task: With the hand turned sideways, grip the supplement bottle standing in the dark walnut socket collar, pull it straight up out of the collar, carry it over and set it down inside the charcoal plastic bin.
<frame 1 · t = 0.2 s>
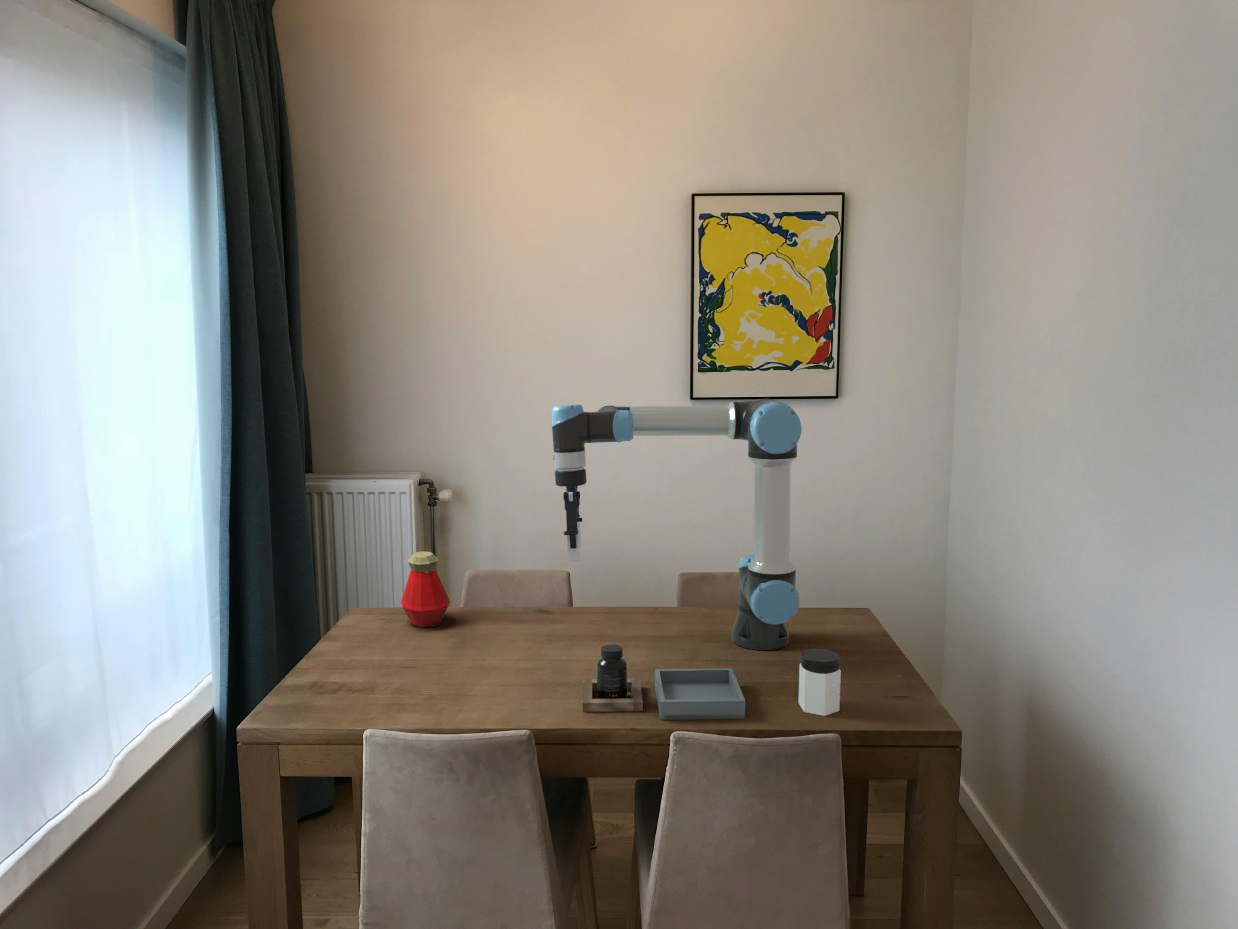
hand: (575, 554, 211), 28 cm above the table, tool pointing down, fingers open, 13 cm apart
bin: (697, 701, 192), on the table
supplement bottle: (612, 699, 193), resting in socket collar
bottle: (426, 623, 246), on the table
socket collar: (612, 698, 193), on the table
jar: (818, 708, 189), on the table
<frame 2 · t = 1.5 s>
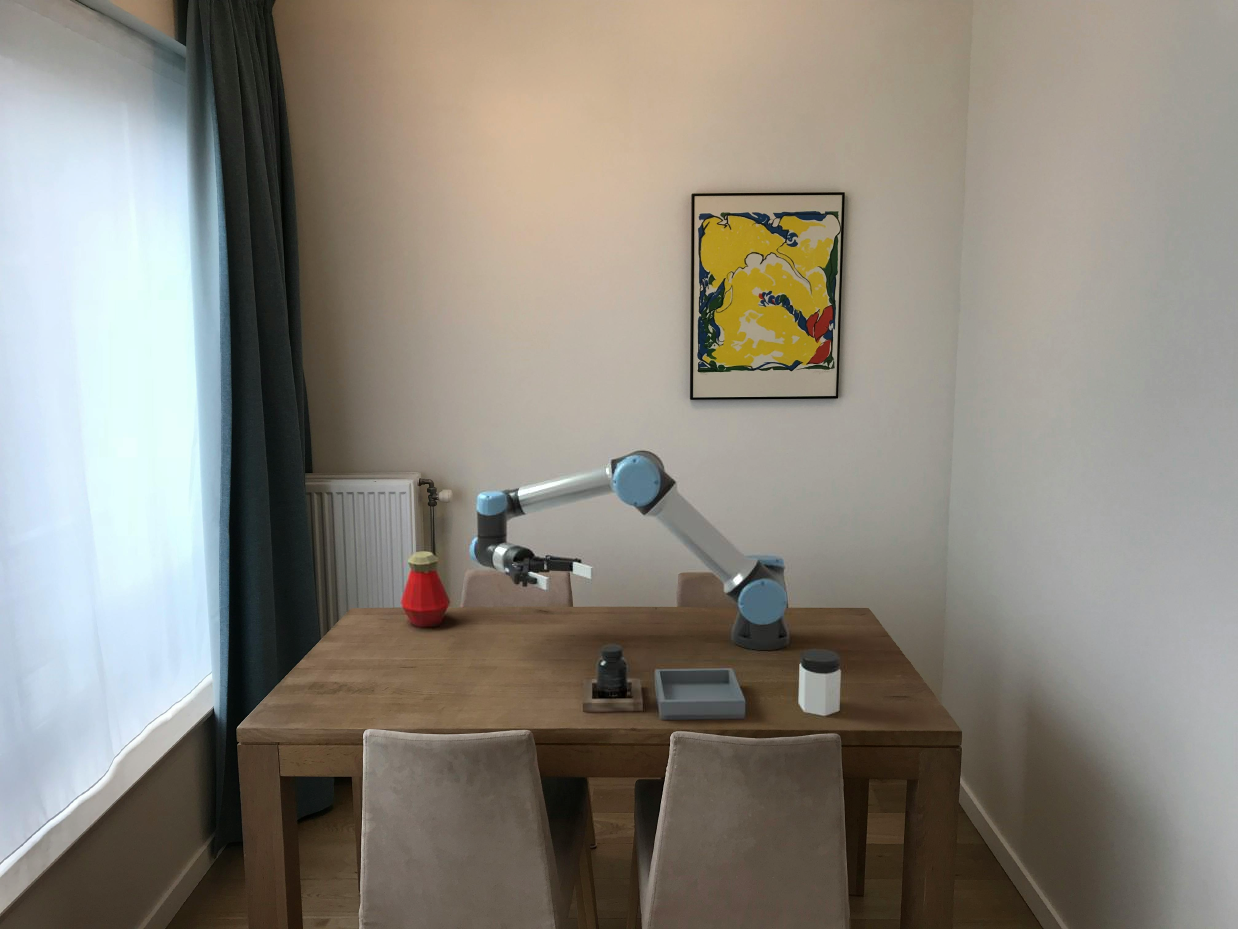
hand: (570, 578, 201), 25 cm above the table, tool horizontal, fingers open, 13 cm apart
nothing on the table moved.
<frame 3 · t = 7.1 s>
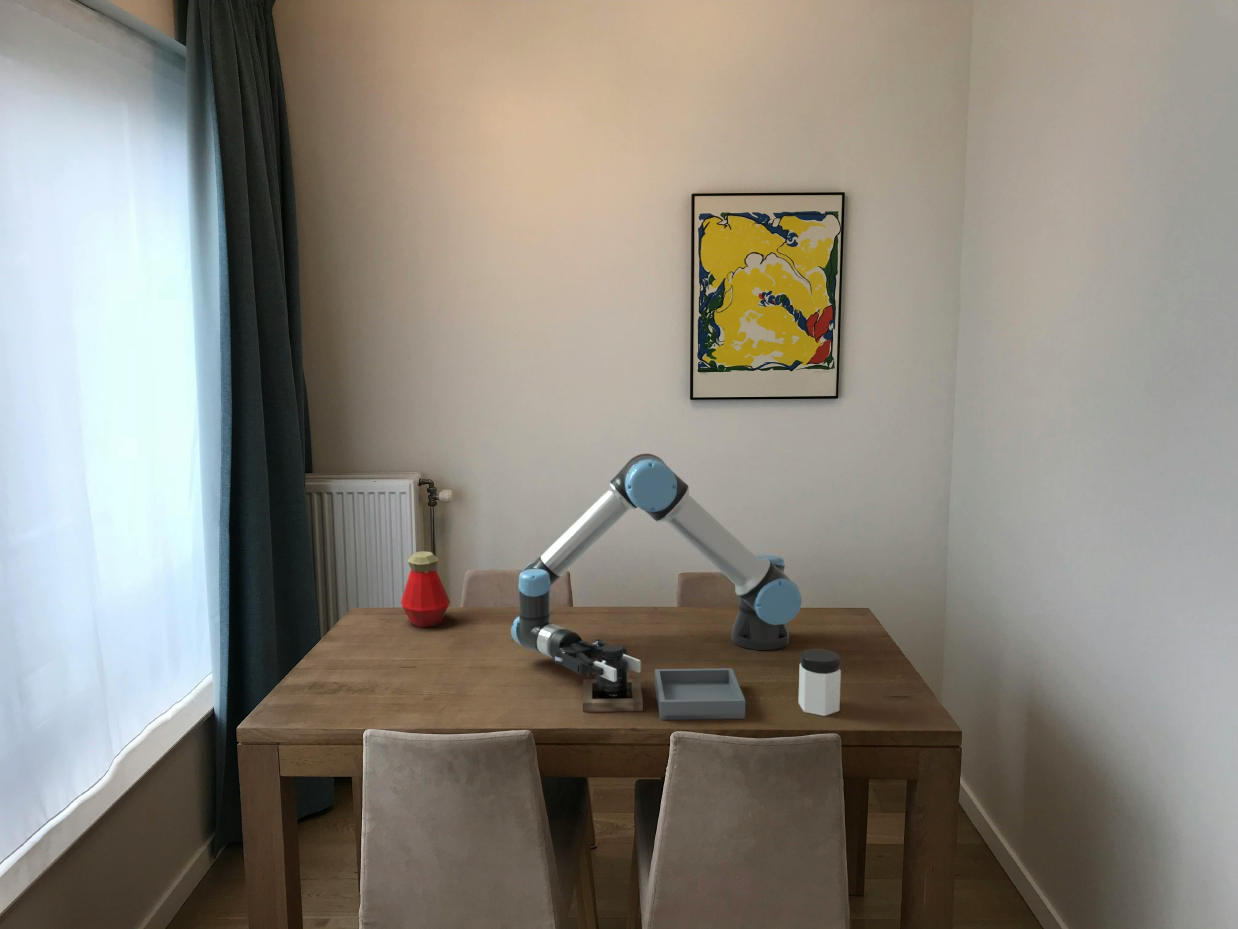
hand: (627, 671, 189), 8 cm above the table, tool horizontal, fingers closed on supplement bottle, 7 cm apart
supplement bottle: (612, 699, 193), resting in socket collar, touching gripper
everything else where it was.
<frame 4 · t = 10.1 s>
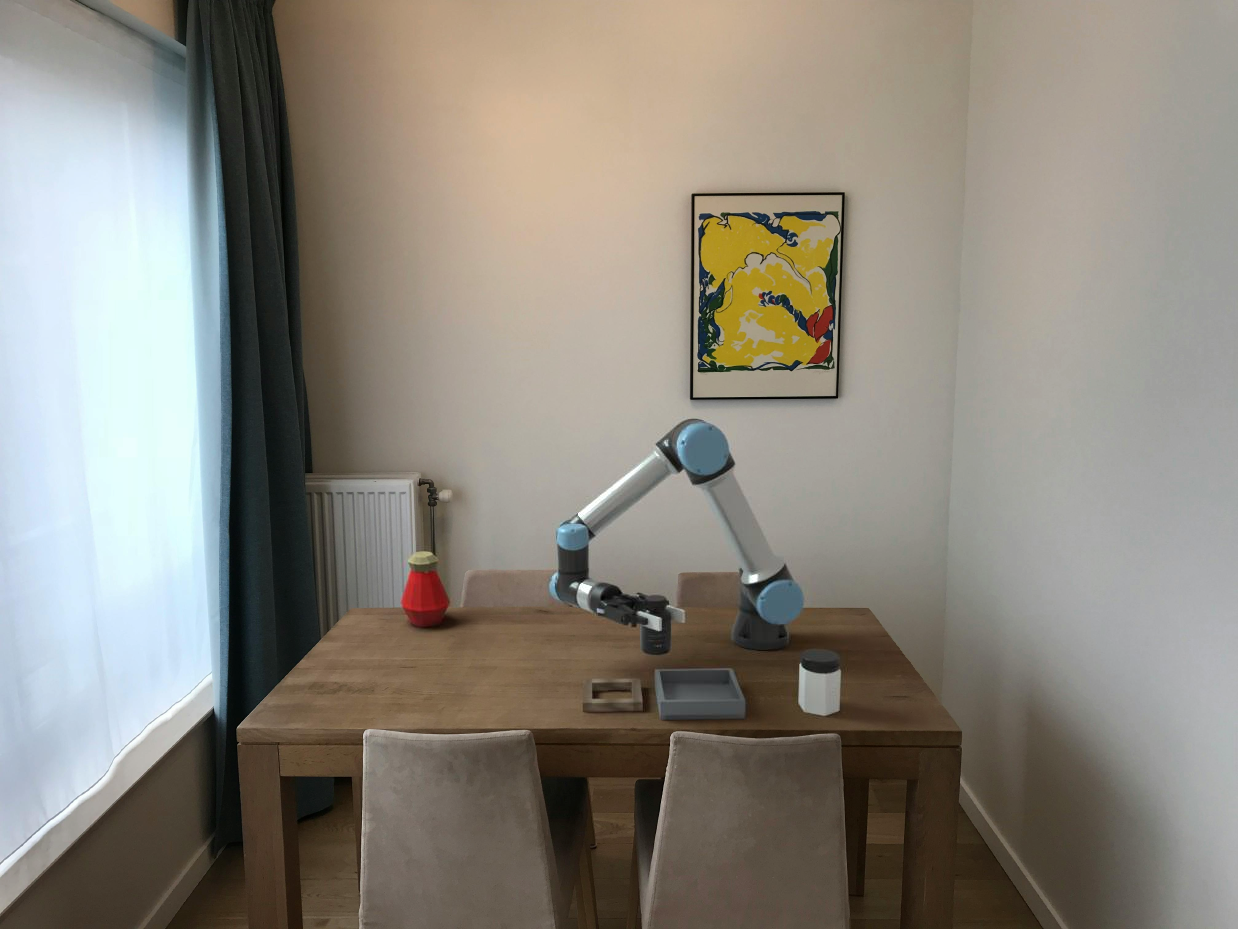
hand: (672, 620, 186), 20 cm above the table, tool horizontal, fingers closed on supplement bottle, 7 cm apart
supplement bottle: (655, 651, 191), point 12 cm above the table, touching gripper
everything else where it was.
when the fingers open (10 cm above the table, at t = 13.2 s): supplement bottle drops 1 cm, resting on bin.
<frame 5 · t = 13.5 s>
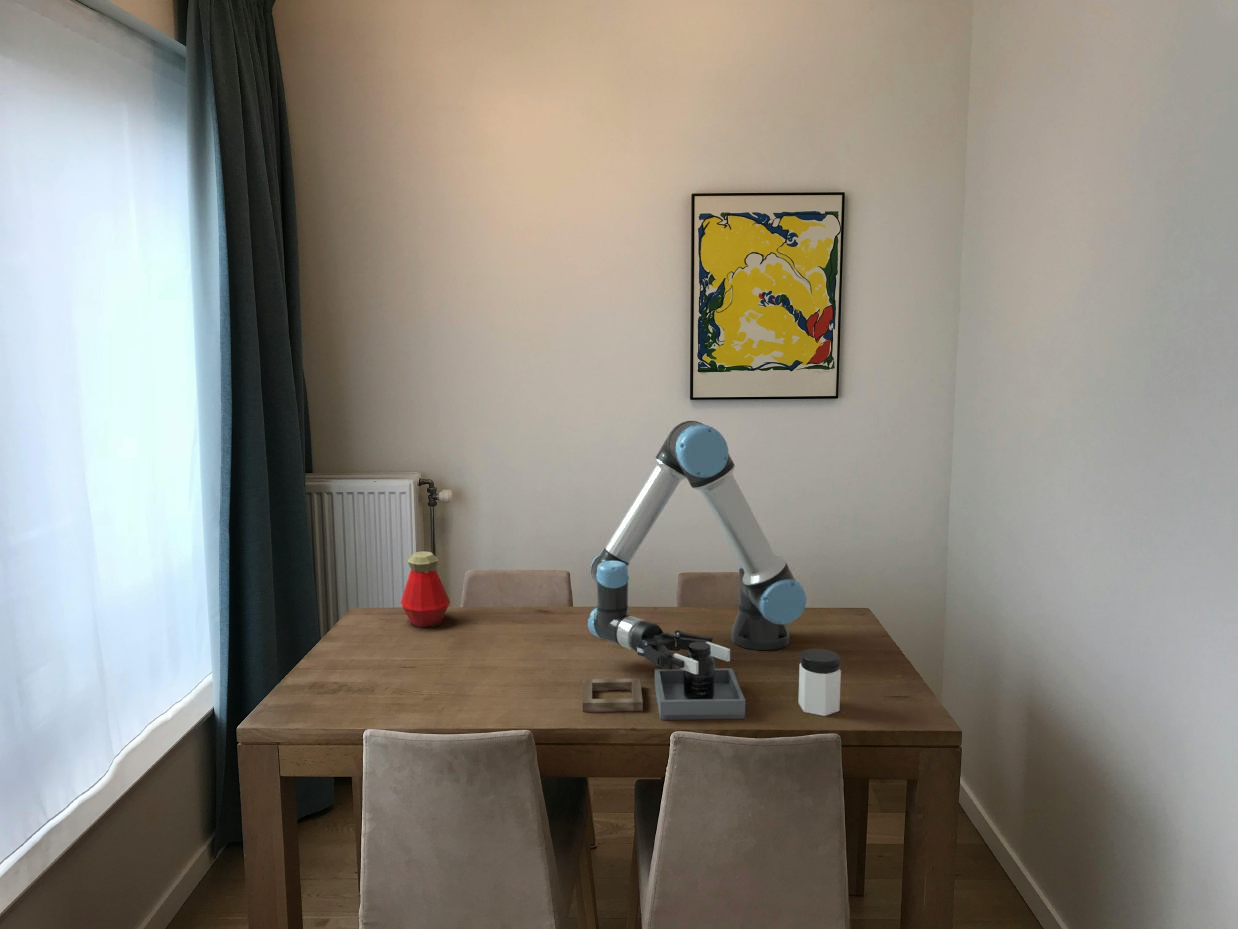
hand: (713, 661, 187), 10 cm above the table, tool horizontal, fingers open, 10 cm apart
supplement bottle: (698, 697, 192), point 1 cm above the table, touching bin
everything else where it was.
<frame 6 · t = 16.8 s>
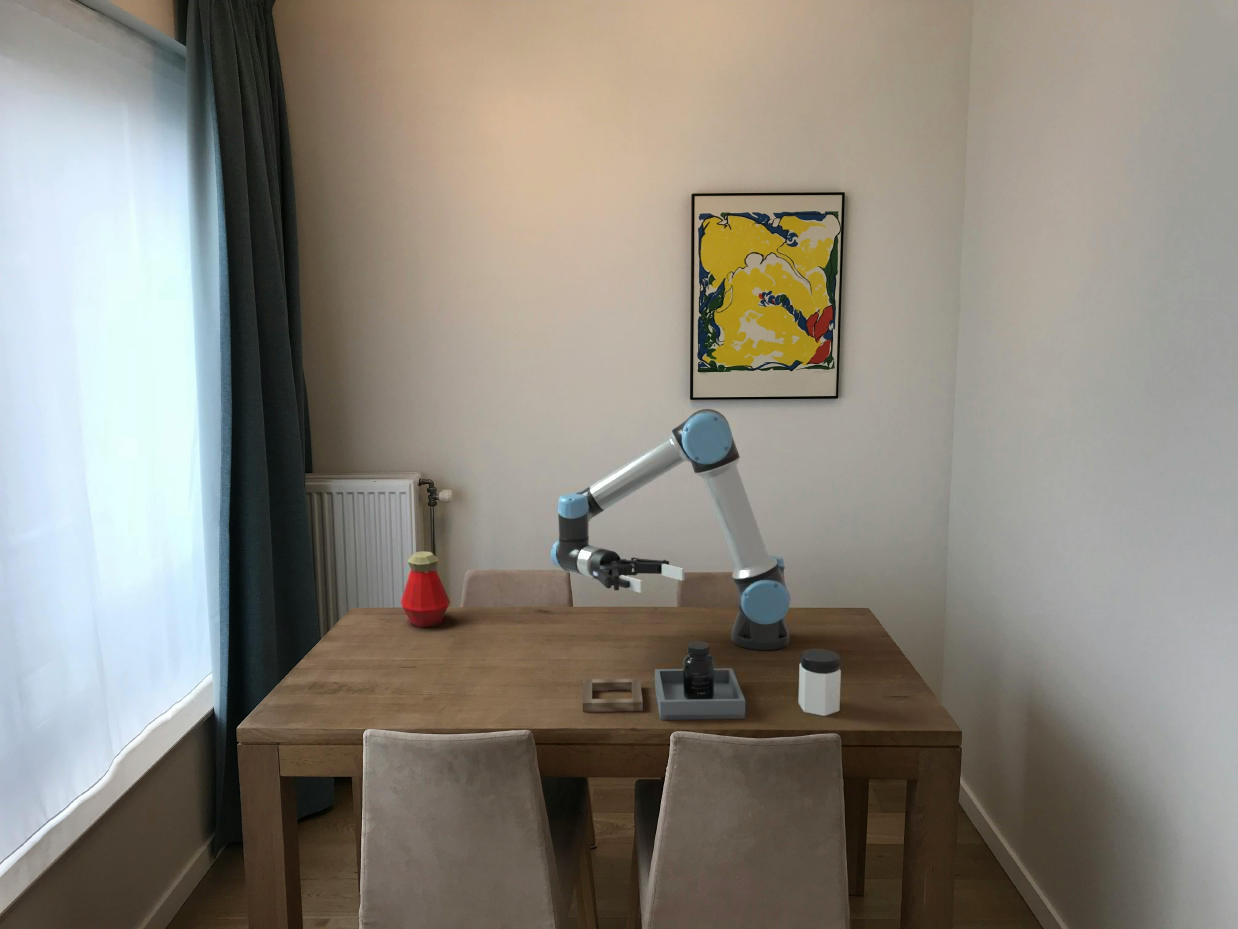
hand: (663, 580, 196), 25 cm above the table, tool horizontal, fingers open, 13 cm apart
nothing on the table moved.
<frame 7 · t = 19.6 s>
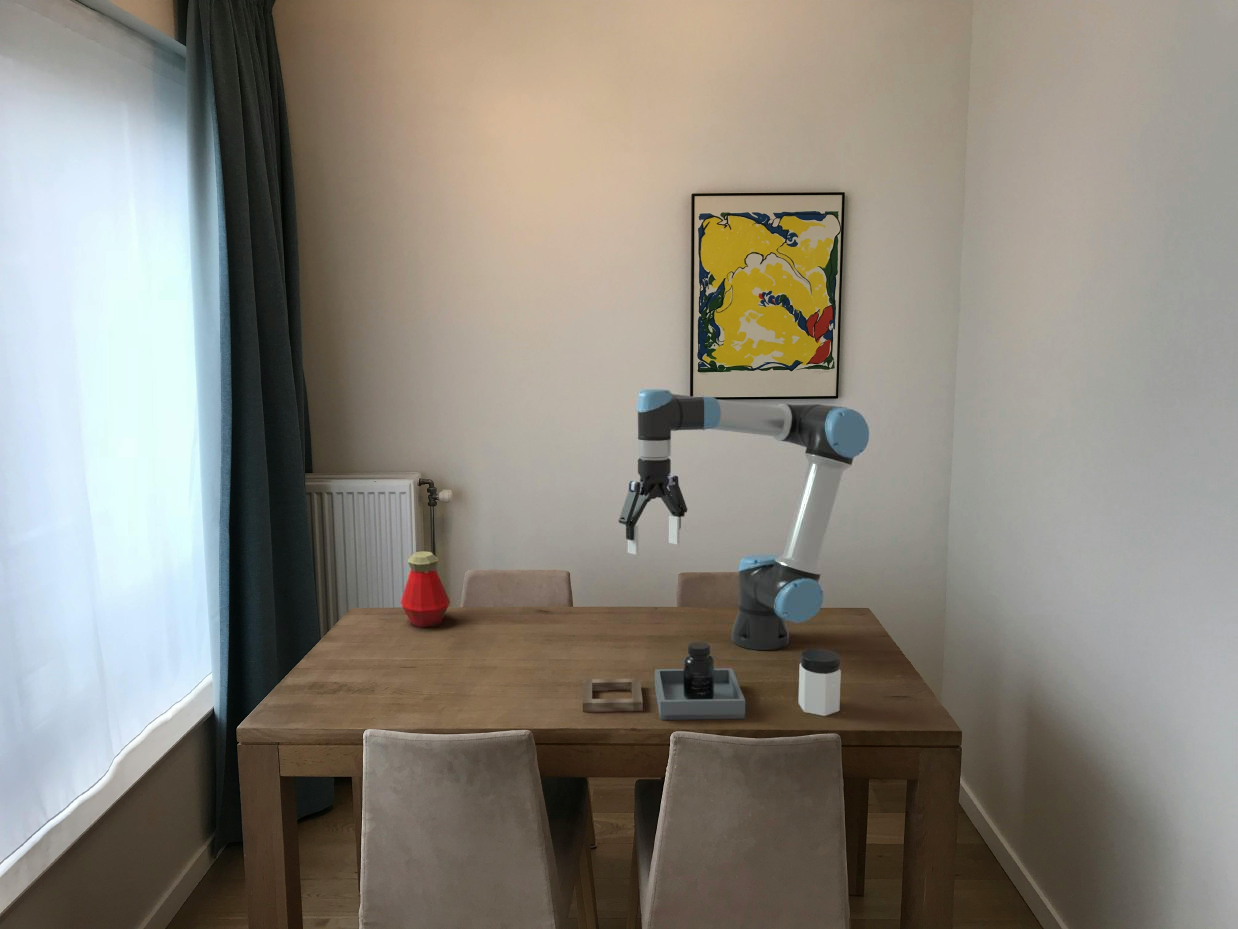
hand: (653, 548, 200), 32 cm above the table, tool pointing down, fingers open, 13 cm apart
nothing on the table moved.
at the end: supplement bottle inside the target area on the bin (0.2 cm from its centre), point 0.8 cm above the bin's base; supplement bottle tilted 0° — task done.
